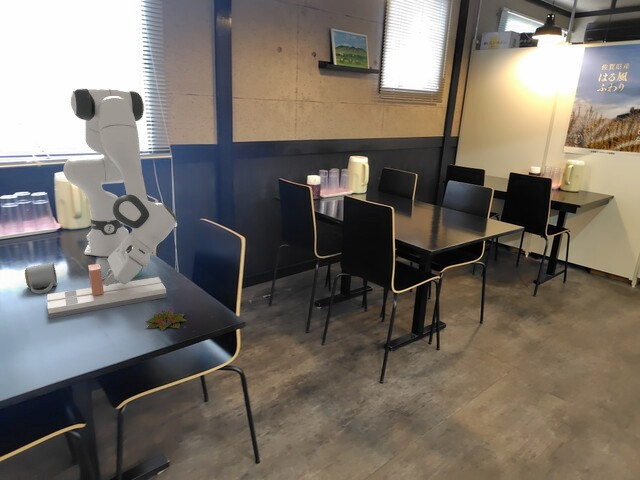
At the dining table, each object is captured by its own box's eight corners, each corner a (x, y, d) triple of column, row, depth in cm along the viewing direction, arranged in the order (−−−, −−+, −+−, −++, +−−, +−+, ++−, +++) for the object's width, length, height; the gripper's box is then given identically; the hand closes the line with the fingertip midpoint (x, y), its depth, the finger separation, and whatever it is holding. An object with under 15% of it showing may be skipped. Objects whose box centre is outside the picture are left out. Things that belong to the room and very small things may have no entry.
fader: (91, 294, 133) (88, 265, 130) (102, 293, 135) (99, 263, 132) (93, 301, 129) (89, 270, 126) (104, 299, 130) (100, 268, 128)
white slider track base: (48, 303, 130) (47, 294, 129) (159, 285, 146) (158, 276, 145) (49, 318, 121) (47, 308, 120) (166, 297, 137) (165, 288, 137)
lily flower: (150, 313, 127) (149, 299, 126) (192, 313, 129) (191, 299, 127) (138, 333, 116) (137, 318, 115) (184, 333, 117) (183, 318, 116)
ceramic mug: (28, 284, 143) (25, 262, 141) (57, 280, 147) (54, 259, 145) (26, 297, 134) (22, 274, 132) (57, 292, 138) (53, 270, 136)
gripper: (122, 234, 140) (92, 266, 138) (133, 252, 124) (99, 289, 122) (138, 245, 144) (109, 277, 142) (150, 264, 127) (117, 301, 125)
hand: (104, 283), depth 132 cm, fingers closed, pressing on fader
